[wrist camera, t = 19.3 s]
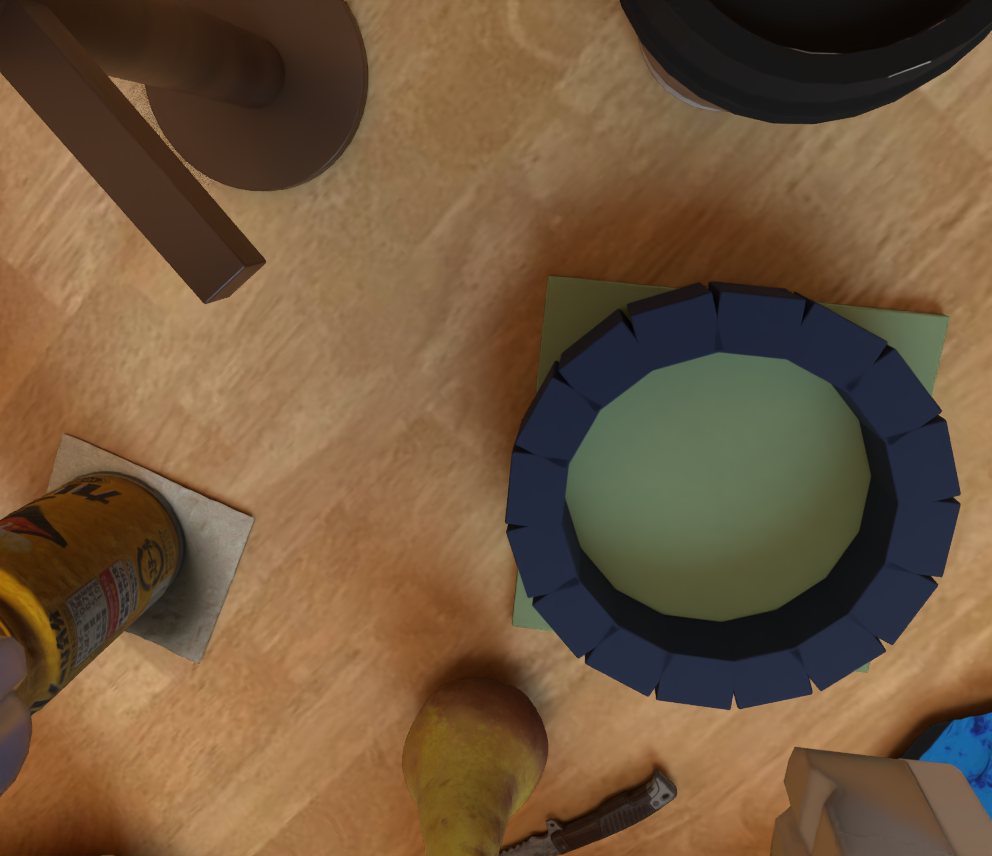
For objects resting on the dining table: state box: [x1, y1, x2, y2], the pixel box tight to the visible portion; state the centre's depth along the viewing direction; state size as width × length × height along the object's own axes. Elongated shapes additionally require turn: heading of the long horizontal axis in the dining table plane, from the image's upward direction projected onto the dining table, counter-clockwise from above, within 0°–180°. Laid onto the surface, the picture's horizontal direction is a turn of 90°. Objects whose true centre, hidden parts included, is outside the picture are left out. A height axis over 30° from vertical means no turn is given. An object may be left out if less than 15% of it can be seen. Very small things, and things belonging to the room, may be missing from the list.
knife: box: [498, 769, 677, 856], centre depth 38 cm, size 17×1×3 cm
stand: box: [0, 0, 368, 304], centre depth 20 cm, size 11×11×24 cm
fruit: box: [402, 678, 548, 856], centre depth 31 cm, size 6×6×12 cm
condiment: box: [0, 434, 254, 715], centre depth 31 cm, size 7×8×12 cm
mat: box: [512, 275, 949, 673], centre depth 33 cm, size 14×14×1 cm
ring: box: [505, 281, 961, 710], centre depth 31 cm, size 15×15×3 cm
